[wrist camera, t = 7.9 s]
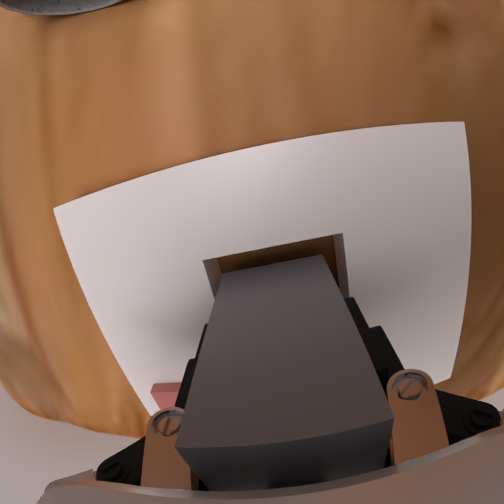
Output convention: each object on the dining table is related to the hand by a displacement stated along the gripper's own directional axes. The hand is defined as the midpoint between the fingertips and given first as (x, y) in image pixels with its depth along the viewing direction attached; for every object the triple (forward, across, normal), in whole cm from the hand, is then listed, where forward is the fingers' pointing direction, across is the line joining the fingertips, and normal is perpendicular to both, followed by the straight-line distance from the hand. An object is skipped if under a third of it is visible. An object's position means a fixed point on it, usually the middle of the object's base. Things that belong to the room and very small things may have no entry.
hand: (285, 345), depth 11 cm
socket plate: (+4, 0, 0) cm, 4 cm away
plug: (+2, 0, 0) cm, 2 cm away
